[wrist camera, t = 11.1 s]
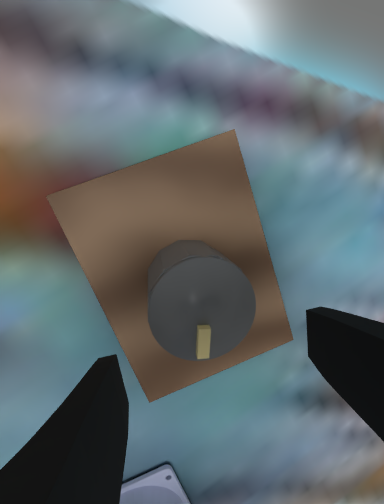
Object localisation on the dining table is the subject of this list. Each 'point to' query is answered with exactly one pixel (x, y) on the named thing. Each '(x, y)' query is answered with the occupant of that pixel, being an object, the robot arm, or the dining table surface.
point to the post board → (162, 235)
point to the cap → (198, 301)
